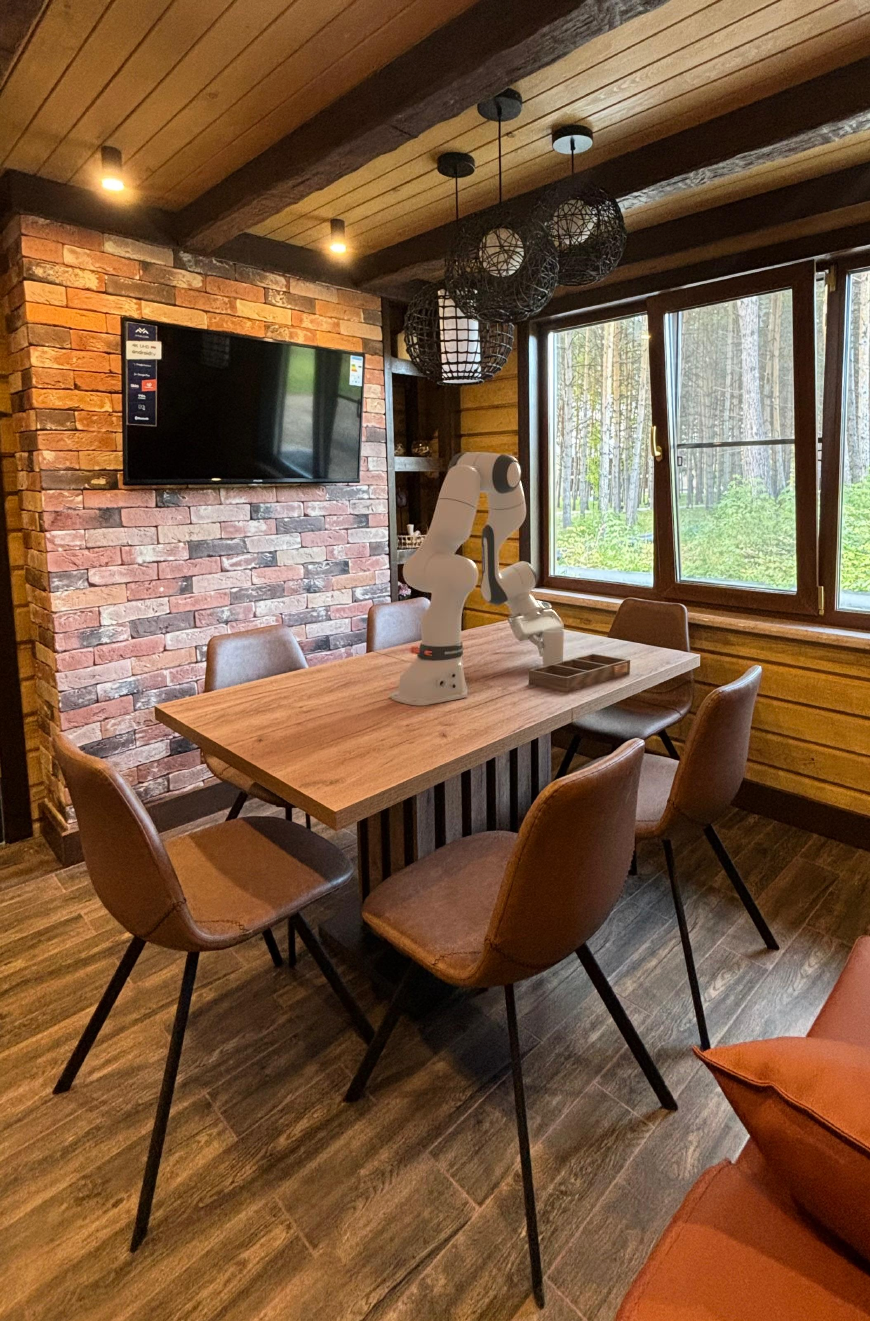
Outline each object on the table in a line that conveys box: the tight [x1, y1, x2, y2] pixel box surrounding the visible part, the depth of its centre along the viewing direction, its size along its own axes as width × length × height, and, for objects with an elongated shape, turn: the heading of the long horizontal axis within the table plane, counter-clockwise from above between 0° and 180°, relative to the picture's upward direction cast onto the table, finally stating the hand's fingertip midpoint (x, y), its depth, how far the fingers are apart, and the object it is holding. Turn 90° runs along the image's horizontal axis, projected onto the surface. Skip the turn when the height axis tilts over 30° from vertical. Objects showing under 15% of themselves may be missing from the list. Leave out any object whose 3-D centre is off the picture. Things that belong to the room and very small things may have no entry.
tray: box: [528, 653, 631, 693], centre depth 221 cm, size 30×15×4 cm, turn 131°
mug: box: [537, 628, 565, 667], centre depth 237 cm, size 10×7×12 cm, turn 38°
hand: (550, 645), depth 236 cm, fingers open, 6 cm apart
